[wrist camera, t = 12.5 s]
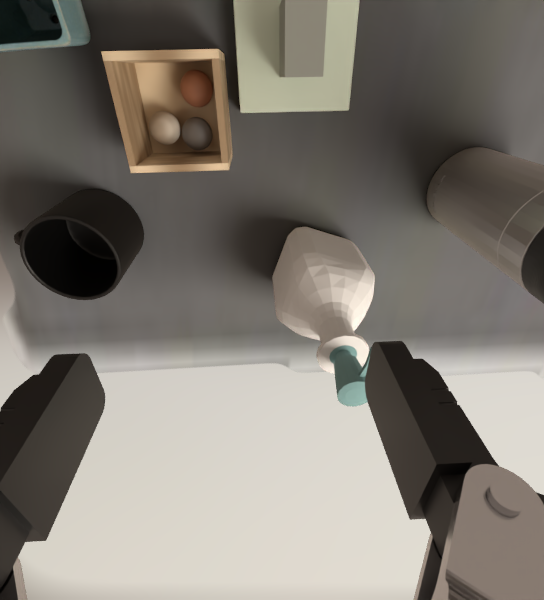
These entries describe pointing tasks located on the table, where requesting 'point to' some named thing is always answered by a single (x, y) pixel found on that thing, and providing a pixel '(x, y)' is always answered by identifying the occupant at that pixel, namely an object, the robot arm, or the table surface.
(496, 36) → the table surface
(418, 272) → the table surface
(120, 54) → the storage box
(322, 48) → the lid
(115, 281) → the mug
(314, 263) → the soap bottle
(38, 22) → the flower pot
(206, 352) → the table surface
